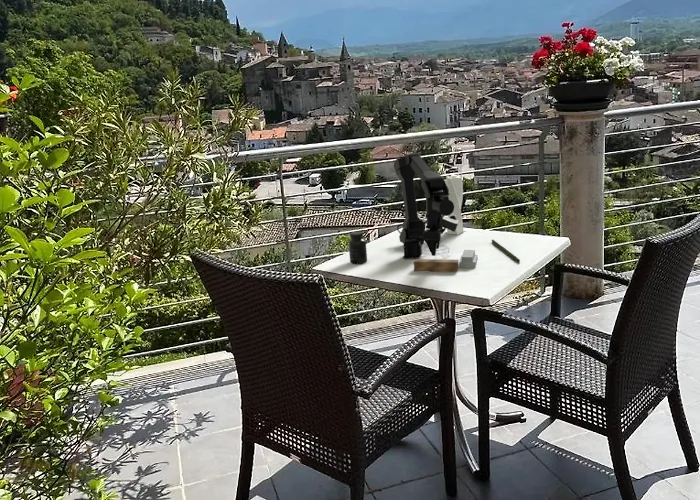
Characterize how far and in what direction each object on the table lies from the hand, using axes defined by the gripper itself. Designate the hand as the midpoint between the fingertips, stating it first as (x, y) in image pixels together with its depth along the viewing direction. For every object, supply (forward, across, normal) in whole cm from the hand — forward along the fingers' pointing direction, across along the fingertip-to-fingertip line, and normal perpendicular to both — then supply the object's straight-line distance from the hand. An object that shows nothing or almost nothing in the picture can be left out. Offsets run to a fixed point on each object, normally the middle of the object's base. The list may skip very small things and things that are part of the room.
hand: (435, 252), depth 249 cm
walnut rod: (+7, 0, 0) cm, 7 cm away
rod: (+8, +25, -24) cm, 35 cm away
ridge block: (+7, +9, -11) cm, 16 cm away
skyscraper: (+8, +56, -1) cm, 56 cm away
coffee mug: (+7, +38, +15) cm, 41 cm away
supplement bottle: (+7, +9, +32) cm, 34 cm away
